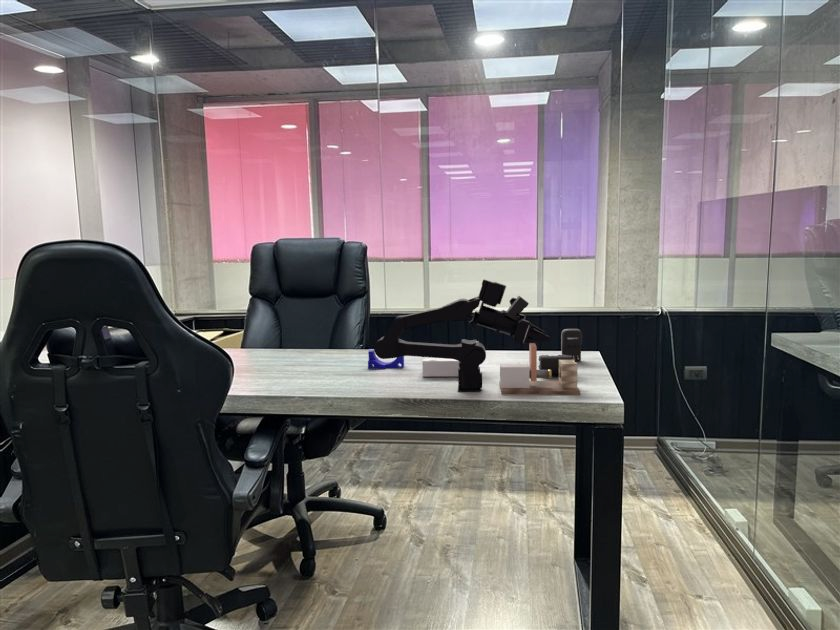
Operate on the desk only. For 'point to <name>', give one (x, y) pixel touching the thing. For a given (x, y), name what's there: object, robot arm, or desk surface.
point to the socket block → (567, 374)
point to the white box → (440, 367)
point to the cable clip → (383, 365)
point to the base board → (542, 389)
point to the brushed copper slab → (533, 365)
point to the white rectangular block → (514, 375)
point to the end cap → (552, 362)
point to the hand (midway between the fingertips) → (547, 336)
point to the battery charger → (571, 343)
